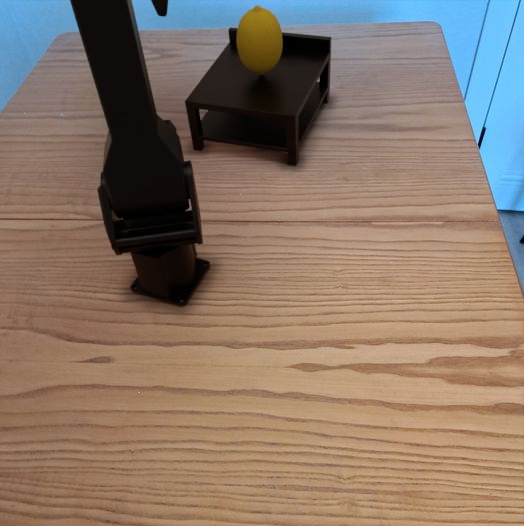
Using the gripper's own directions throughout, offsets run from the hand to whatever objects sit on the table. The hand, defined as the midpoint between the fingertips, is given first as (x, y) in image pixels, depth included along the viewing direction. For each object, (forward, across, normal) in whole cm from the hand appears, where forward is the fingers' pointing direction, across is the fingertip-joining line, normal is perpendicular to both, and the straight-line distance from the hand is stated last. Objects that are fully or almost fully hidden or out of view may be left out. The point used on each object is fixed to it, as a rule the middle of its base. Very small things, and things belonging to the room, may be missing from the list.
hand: (143, 33), depth 67 cm
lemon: (+6, +6, -12) cm, 15 cm away
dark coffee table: (+13, +6, -12) cm, 19 cm away
